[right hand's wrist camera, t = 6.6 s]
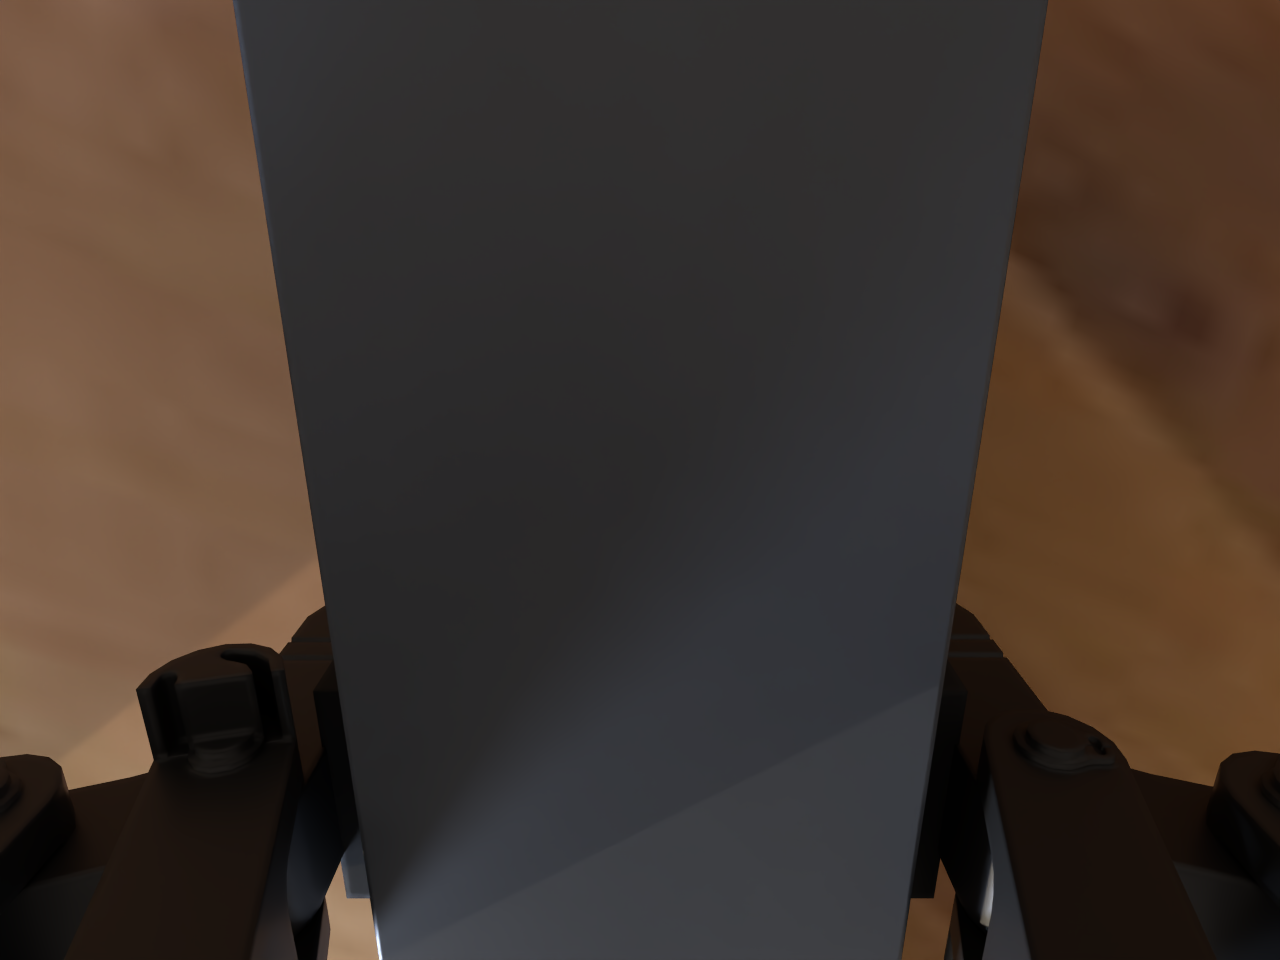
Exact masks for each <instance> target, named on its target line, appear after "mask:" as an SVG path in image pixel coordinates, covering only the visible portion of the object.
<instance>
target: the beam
mask: <svg viewBox="0 0 1280 960" xmlns="http://www.w3.org/2000/svg"><path fill="white" fill-rule="evenodd" d="M233 4H234V11H235V17H236V24H237V30H238V37H239V43H240V50H241V57H242V63H243V70H244V76H245V83H246V89H247V96H248V102H249V109H250V115H251V122H252V129H253V135H254V142H255V148H256V155H257V161H258V168H259V174H260V181H261V187H262V194H263V201H264V207H265V214H266V220H267V227H268V233H269V240H270V246H271V253H272V260H273V266H274V273H275V279H276V286H277V292H278V299H279V305H280V312H281V318H282V325H283V332H284V338H285V345H286V351H287V358H288V364H289V371H290V377H291V384H292V390H293V397H294V404H295V410H296V417H297V423H298V430H299V436H300V443H301V449H302V456H303V462H304V469H305V476H306V482H307V489H308V495H309V502H310V508H311V515H312V521H313V528H314V534H315V541H316V548H317V554H318V561H319V567H320V574H321V580H322V587H323V593H324V600H325V606H326V613H327V620H328V626H329V633H330V639H331V646H332V652H333V659H334V665H335V672H336V678H337V685H338V692H339V698H340V705H341V711H342V718H343V724H344V731H345V737H346V744H347V751H348V757H349V764H350V770H351V777H352V783H353V790H354V796H355V803H356V809H357V816H358V823H359V829H360V836H361V842H362V849H363V855H364V862H365V868H366V875H367V881H368V888H369V895H370V901H371V908H372V914H373V921H374V927H375V934H376V940H377V947H378V953H379V960H901V958H902V952H903V945H904V939H905V932H906V926H907V919H908V913H909V906H910V900H911V893H912V887H913V880H914V873H915V867H916V860H917V854H918V847H919V841H920V834H921V828H922V821H923V815H924V808H925V802H926V795H927V789H928V782H929V775H930V769H931V762H932V756H933V749H934V743H935V736H936V730H937V723H938V717H939V710H940V704H941V697H942V691H943V684H944V677H945V671H946V664H947V658H948V651H949V645H950V638H951V632H952V625H953V619H954V612H955V606H956V599H957V593H958V586H959V579H960V573H961V566H962V560H963V553H964V547H965V540H966V534H967V527H968V521H969V514H970V508H971V501H972V495H973V488H974V481H975V475H976V468H977V462H978V455H979V449H980V442H981V436H982V429H983V423H984V416H985V410H986V403H987V397H988V390H989V383H990V377H991V370H992V364H993V357H994V351H995V344H996V338H997V331H998V325H999V318H1000V312H1001V305H1002V299H1003V292H1004V285H1005V279H1006V272H1007V266H1008V259H1009V253H1010V246H1011V240H1012V233H1013V227H1014V220H1015V214H1016V207H1017V201H1018V194H1019V187H1020V181H1021V174H1022V168H1023V161H1024V155H1025V148H1026V142H1027V135H1028V129H1029V122H1030V116H1031V109H1032V103H1033V96H1034V89H1035V83H1036V76H1037V70H1038V63H1039V57H1040V50H1041V44H1042V37H1043V31H1044V24H1045V18H1046V11H1047V5H1048V0H233Z"/></svg>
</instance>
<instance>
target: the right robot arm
mask: <svg viewBox="0 0 1280 960" xmlns="http://www.w3.org/2000/svg"><path fill="white" fill-rule="evenodd" d="M989 636H990V635H989V634H988V633H987V631H986V630H985V629H984V628H983V626H982V625H981V624H980V622H979V621H978V620H977V618H976V617H975V616H974V615H973V614H972V613H971V612H969V611H967V610H966V609H964V608H963V607H961V606H960V605H958V604H957V603H956V606H955V612H954V619H953V625H952V632H951V638H950V645H949V651H948V658H947V664H946V671H945V677H944V684H943V691H942V697H941V704H940V710H939V717H938V723H937V730H936V736H935V743H934V749H933V756H932V762H931V769H930V775H929V782H928V789H927V795H926V802H925V808H924V815H923V821H922V828H921V834H920V841H919V847H918V854H917V860H916V867H915V873H914V880H913V887H912V893H911V898H934V893H935V887H936V881H937V875H938V869H939V863H940V858H941V860H942V862H943V865H944V867H945V869H946V871H947V874H948V876H949V878H950V880H951V883H952V885H953V887H954V889H955V892H956V893H955V899H954V905H953V910H952V916H951V921H950V927H949V933H948V938H947V944H946V949H945V955H944V960H1280V754H1278V753H1270V752H1262V751H1249V752H1242V753H1234V754H1232V755H1230V756H1229V757H1228V758H1227V759H1225V760H1224V761H1223V762H1221V763H1220V767H1219V770H1218V773H1217V776H1216V780H1215V783H1214V786H1213V787H1211V786H1206V785H1202V784H1197V783H1192V782H1187V781H1182V780H1177V779H1173V778H1168V777H1163V776H1158V775H1153V774H1149V773H1145V772H1141V771H1138V770H1134V769H1130V766H1129V764H1128V762H1127V760H1126V758H1125V757H1124V756H1123V754H1122V753H1121V752H1120V750H1119V749H1118V748H1117V746H1116V745H1115V744H1114V742H1112V741H1111V740H1110V739H1108V738H1107V737H1105V736H1104V735H1103V734H1101V733H1100V732H1099V731H1097V730H1096V729H1094V728H1093V727H1091V726H1089V725H1087V724H1084V723H1082V722H1080V721H1078V720H1075V719H1073V718H1071V717H1069V716H1066V715H1062V714H1058V713H1053V712H1049V711H1047V709H1046V708H1045V707H1044V705H1043V704H1042V703H1041V702H1040V700H1039V699H1038V698H1037V696H1036V695H1035V694H1034V692H1033V691H1032V690H1031V689H1030V687H1029V686H1028V685H1027V683H1026V682H1025V681H1024V680H1023V678H1022V677H1021V676H1020V674H1019V673H1018V672H1017V670H1016V669H1015V668H1014V667H1013V665H1012V664H1011V663H1010V661H1009V660H1008V659H1007V658H1004V657H1003V652H1002V651H1001V650H1000V648H999V647H998V646H997V644H996V643H995V642H994V641H993V640H990V638H989ZM136 692H137V696H138V700H139V704H140V707H141V711H142V715H143V719H144V723H145V727H146V731H147V735H148V739H149V743H150V747H151V751H152V755H153V758H154V761H153V763H152V766H151V768H150V770H149V772H148V773H145V774H141V775H137V776H134V777H130V778H125V779H120V780H115V781H111V782H106V783H101V784H96V785H91V786H86V787H82V788H77V789H72V790H68V787H67V784H66V781H65V777H64V774H63V771H62V767H61V766H60V765H58V764H57V763H56V762H55V761H53V760H52V759H51V758H49V757H44V756H37V755H29V754H24V755H16V756H8V757H0V960H327V955H328V946H329V937H330V924H329V917H328V910H327V905H326V899H325V895H326V893H327V890H328V888H329V886H330V884H331V881H332V879H333V877H334V875H335V872H336V870H337V868H338V865H339V863H340V861H341V865H342V871H343V877H344V883H345V889H346V895H347V898H370V895H369V888H368V881H367V875H366V868H365V862H364V855H363V849H362V842H361V836H360V829H359V823H358V816H357V809H356V803H355V796H354V790H353V783H352V777H351V770H350V764H349V757H348V751H347V744H346V737H345V731H344V724H343V718H342V711H341V705H340V698H339V692H338V685H337V678H336V672H335V665H334V659H333V652H332V646H331V639H330V633H329V626H328V620H327V613H326V606H324V607H322V608H321V609H319V610H318V611H316V612H315V613H313V614H311V615H310V616H308V617H307V619H306V620H305V621H304V622H303V624H302V625H301V626H300V628H299V629H298V630H297V632H296V633H295V634H294V636H293V637H292V641H291V642H288V643H287V645H286V646H285V647H284V649H283V650H282V651H281V653H280V654H278V653H277V652H275V651H274V650H273V649H272V648H269V647H265V646H260V645H256V644H251V643H250V644H225V645H220V646H215V647H211V648H206V649H201V650H197V651H195V652H192V653H190V654H187V655H184V656H182V657H179V658H177V659H174V660H172V661H170V662H168V663H167V664H165V665H164V666H162V667H160V668H159V669H157V670H156V671H154V672H152V673H151V674H149V675H148V677H147V678H146V679H145V680H144V681H143V682H142V683H141V684H140V686H139V687H138V688H137V689H136Z"/></svg>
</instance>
